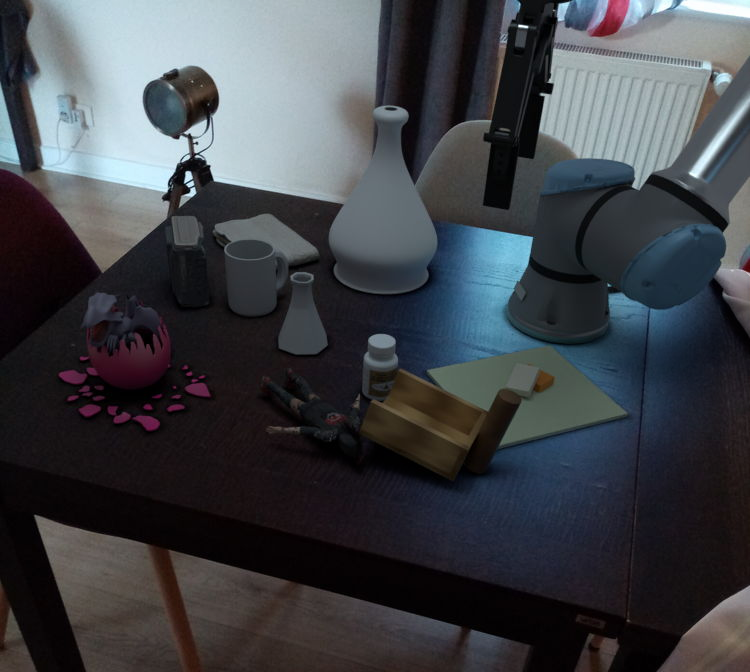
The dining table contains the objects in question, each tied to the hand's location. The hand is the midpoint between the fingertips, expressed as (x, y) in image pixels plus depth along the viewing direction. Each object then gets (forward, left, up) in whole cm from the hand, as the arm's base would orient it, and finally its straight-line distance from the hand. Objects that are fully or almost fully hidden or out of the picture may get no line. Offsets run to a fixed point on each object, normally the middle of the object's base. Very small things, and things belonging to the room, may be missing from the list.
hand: (509, 180), depth 85 cm
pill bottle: (+12, -5, -28) cm, 31 cm away
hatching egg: (+41, -17, -28) cm, 52 cm away
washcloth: (+12, -50, -28) cm, 59 cm away
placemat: (-6, +2, -28) cm, 28 cm away
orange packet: (-8, +1, -26) cm, 27 cm away
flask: (+17, -20, -28) cm, 38 cm away
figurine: (+22, 0, -28) cm, 36 cm away
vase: (-3, -37, -28) cm, 46 cm away
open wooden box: (+12, +9, -26) cm, 30 cm away
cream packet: (-6, +2, -25) cm, 26 cm away
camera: (+28, -40, -28) cm, 56 cm away
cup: (+19, -33, -28) cm, 47 cm away
